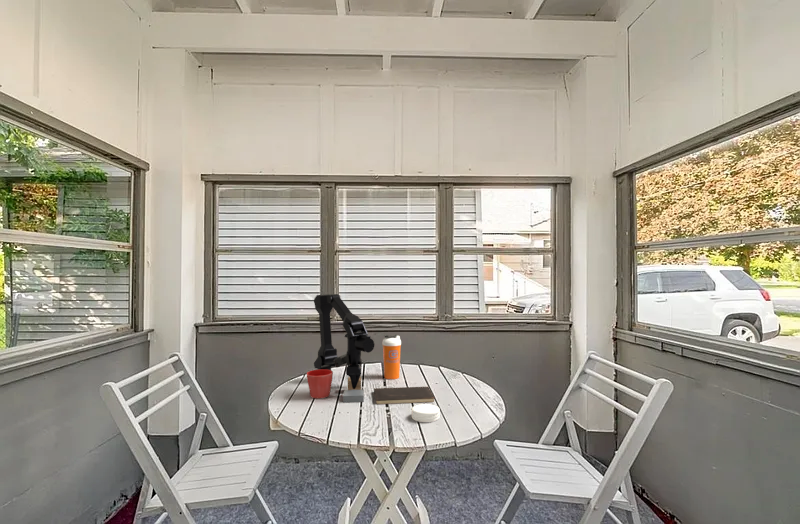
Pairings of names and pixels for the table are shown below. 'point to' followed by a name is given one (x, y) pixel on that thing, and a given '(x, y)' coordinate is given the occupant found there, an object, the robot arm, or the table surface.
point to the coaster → (425, 413)
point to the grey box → (353, 396)
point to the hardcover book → (403, 395)
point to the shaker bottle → (391, 356)
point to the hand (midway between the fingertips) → (354, 385)
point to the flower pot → (319, 383)
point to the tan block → (356, 386)
